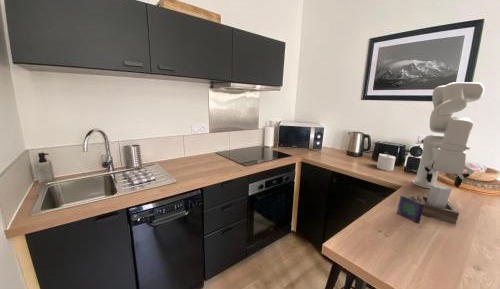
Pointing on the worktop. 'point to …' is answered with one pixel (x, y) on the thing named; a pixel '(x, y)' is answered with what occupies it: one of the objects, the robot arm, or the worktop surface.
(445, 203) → the skincare box
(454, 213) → the holder
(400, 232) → the worktop surface
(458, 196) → the worktop surface
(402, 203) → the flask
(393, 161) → the toilet tissue
